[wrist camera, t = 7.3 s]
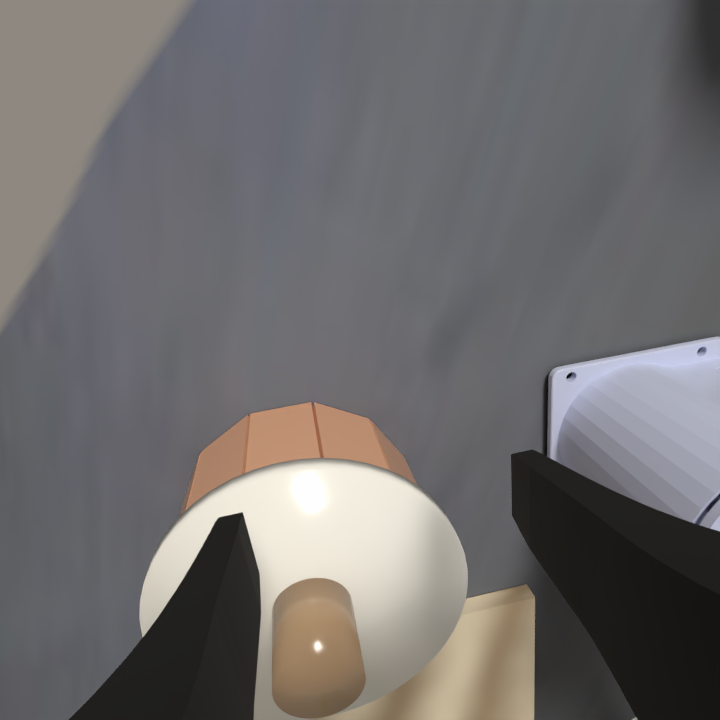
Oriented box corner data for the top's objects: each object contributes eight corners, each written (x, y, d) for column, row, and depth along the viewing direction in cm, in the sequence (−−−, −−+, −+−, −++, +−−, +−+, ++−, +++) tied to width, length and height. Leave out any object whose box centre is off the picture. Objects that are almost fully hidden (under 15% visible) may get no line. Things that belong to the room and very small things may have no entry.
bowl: (396, 385, 23) (427, 439, 19) (416, 563, 28) (445, 642, 23) (159, 431, 22) (129, 499, 18) (216, 609, 26) (205, 702, 22)
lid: (500, 476, 20) (552, 546, 16) (416, 703, 24) (442, 799, 20) (161, 438, 17) (131, 512, 13) (131, 704, 21) (101, 817, 17)
